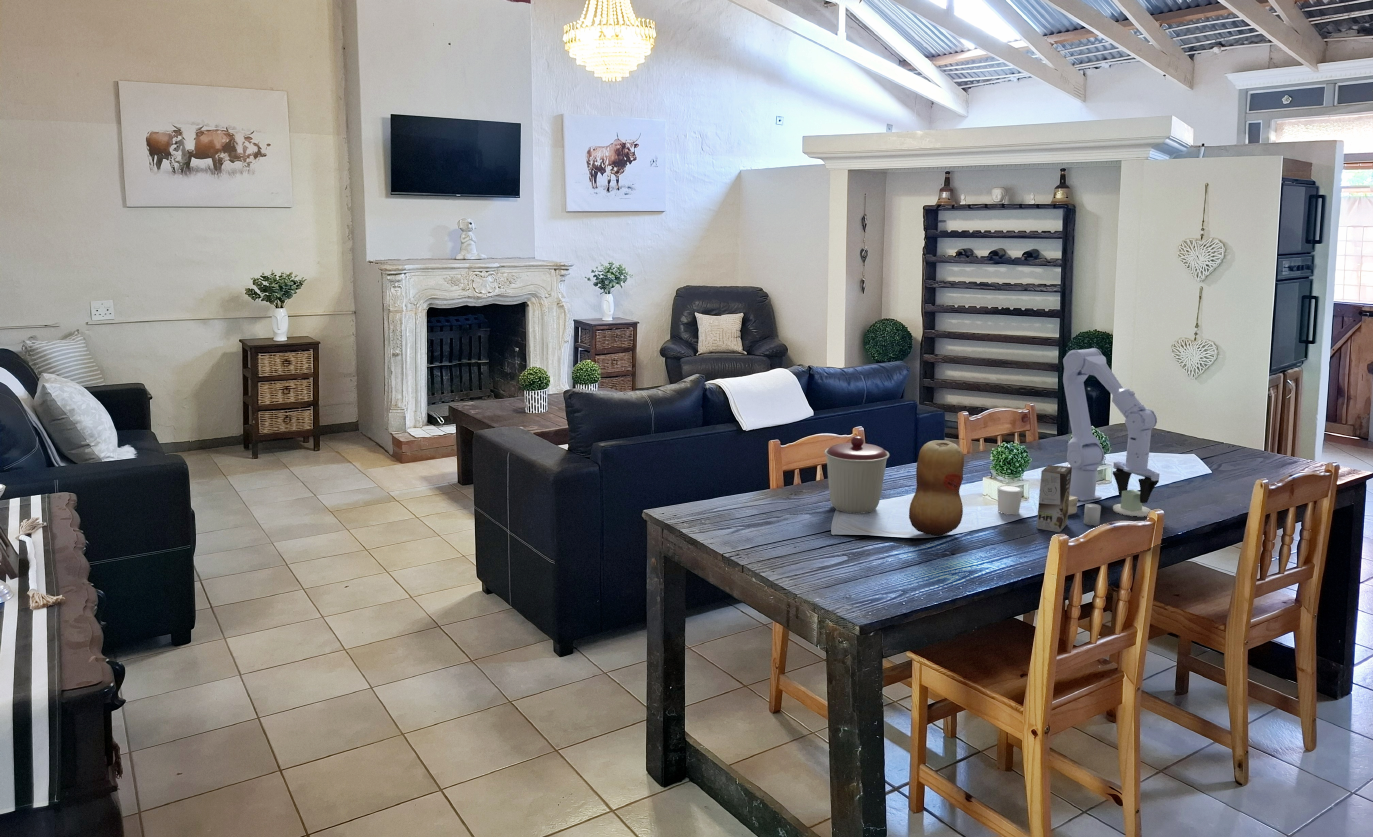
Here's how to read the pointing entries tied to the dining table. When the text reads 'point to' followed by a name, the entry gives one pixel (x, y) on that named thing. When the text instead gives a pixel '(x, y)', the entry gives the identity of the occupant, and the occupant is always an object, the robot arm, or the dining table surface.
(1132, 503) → the sage block
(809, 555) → the dining table surface
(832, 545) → the dining table surface
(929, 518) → the butternut squash
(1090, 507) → the grey cylinder
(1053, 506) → the coffee box
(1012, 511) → the white cup
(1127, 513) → the saucer
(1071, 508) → the birch cube
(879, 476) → the canister
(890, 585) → the dining table surface
